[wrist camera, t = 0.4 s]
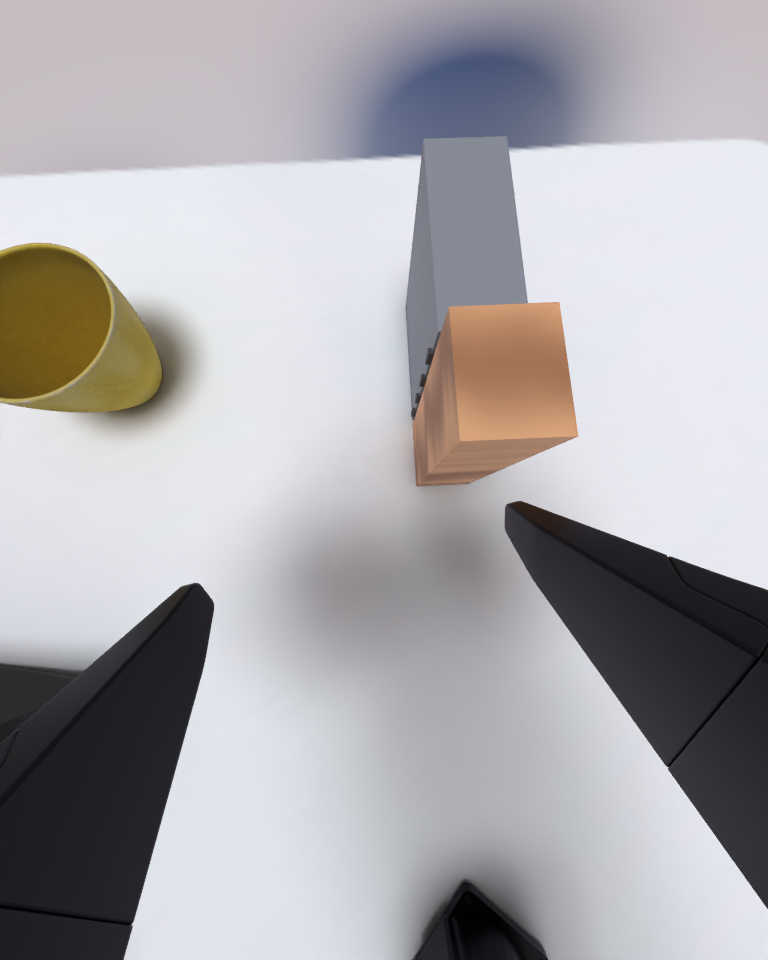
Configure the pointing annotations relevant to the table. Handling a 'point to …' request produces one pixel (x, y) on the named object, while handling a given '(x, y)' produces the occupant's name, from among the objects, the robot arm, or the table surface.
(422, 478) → the wooden post
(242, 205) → the table surface
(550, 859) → the table surface
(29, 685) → the magazine
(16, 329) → the yellow bowl
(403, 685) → the table surface
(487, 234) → the grey flat block
